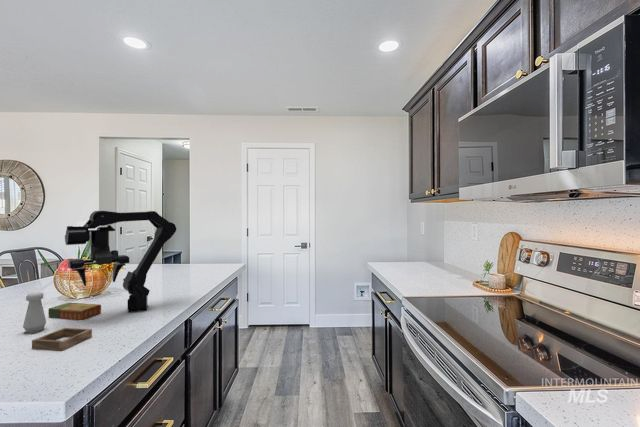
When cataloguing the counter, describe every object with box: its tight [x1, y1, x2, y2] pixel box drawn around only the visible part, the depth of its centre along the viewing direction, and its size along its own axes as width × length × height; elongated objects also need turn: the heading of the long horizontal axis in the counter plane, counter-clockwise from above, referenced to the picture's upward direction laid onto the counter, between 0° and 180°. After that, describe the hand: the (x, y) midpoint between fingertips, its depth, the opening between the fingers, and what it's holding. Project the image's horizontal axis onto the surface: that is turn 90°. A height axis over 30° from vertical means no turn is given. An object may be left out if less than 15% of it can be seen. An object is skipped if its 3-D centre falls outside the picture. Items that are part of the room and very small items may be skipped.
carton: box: [47, 302, 102, 321], centre depth 123 cm, size 8×16×4 cm, turn 78°
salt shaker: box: [22, 291, 47, 334], centre depth 107 cm, size 6×6×13 cm
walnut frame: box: [31, 327, 93, 352], centre depth 97 cm, size 10×10×2 cm
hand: (99, 283), depth 120 cm, fingers open, 9 cm apart
